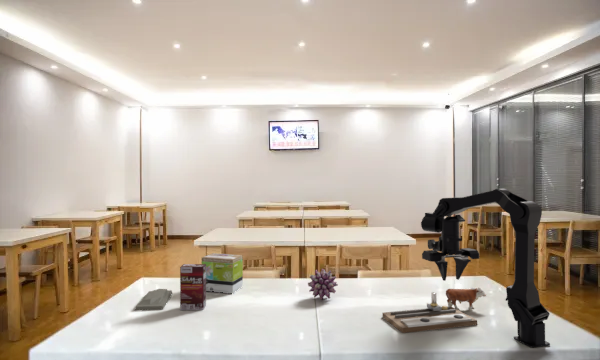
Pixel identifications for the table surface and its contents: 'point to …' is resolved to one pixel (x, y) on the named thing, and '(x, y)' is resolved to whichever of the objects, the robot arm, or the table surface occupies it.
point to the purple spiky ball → (322, 284)
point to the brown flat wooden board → (428, 319)
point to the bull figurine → (464, 296)
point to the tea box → (223, 272)
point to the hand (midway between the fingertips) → (450, 279)
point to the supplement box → (192, 286)
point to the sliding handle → (434, 303)
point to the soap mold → (154, 300)
